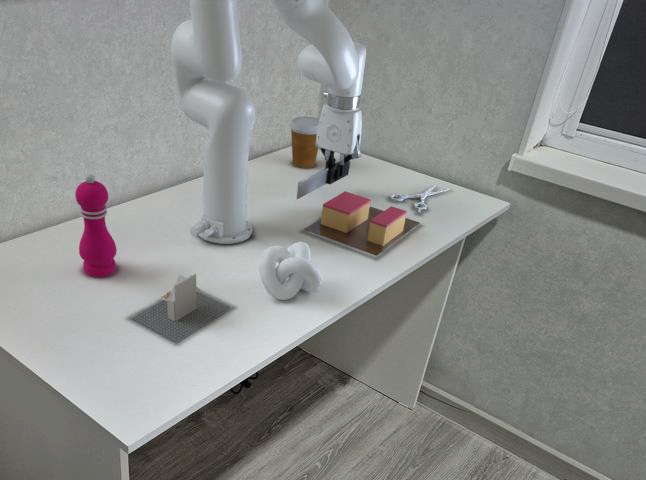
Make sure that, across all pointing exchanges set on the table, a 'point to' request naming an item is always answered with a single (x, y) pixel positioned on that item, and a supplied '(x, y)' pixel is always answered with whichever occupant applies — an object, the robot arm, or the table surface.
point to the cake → (345, 211)
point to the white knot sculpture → (288, 271)
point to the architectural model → (181, 311)
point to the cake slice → (386, 225)
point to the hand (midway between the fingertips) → (334, 176)
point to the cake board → (360, 233)
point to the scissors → (421, 196)
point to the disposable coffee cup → (304, 141)
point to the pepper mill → (95, 229)
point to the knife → (319, 180)
